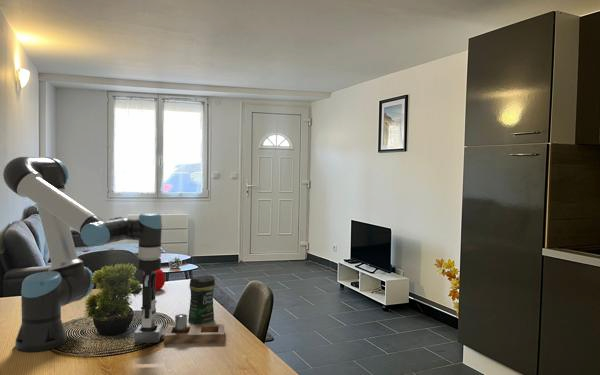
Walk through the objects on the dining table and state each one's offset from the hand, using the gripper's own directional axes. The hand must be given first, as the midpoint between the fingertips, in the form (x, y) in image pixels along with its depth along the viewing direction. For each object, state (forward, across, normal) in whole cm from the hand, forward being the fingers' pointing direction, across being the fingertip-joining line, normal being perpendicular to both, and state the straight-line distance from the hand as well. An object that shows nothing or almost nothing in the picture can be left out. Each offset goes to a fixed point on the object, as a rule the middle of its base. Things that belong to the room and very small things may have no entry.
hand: (148, 324), depth 165 cm
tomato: (+6, +68, +9) cm, 69 cm away
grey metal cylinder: (+5, 0, 0) cm, 5 cm away
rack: (+6, -1, -16) cm, 17 cm away
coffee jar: (+6, +18, -17) cm, 25 cm away
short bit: (+5, -1, -11) cm, 12 cm away
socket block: (+6, 0, 0) cm, 6 cm away
